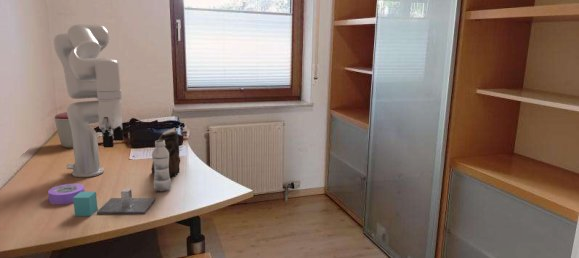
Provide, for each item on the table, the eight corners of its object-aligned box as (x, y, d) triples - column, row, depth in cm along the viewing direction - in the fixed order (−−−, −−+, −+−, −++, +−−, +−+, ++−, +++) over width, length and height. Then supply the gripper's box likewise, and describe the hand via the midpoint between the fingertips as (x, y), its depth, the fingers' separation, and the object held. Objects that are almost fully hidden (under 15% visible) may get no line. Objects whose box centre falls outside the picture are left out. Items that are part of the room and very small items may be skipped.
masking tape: (76, 190, 157) (75, 181, 156) (90, 197, 150) (89, 188, 149) (44, 199, 148) (42, 189, 147) (57, 207, 141) (55, 197, 140)
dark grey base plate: (97, 214, 136) (95, 196, 134) (111, 200, 147) (110, 183, 146) (144, 214, 136) (143, 196, 135) (155, 200, 148) (154, 184, 147)
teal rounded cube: (75, 216, 134) (73, 197, 132) (82, 209, 139) (80, 191, 138) (90, 216, 134) (89, 197, 133) (97, 209, 139) (95, 191, 138)
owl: (178, 168, 185) (176, 125, 180) (188, 176, 174) (186, 131, 170) (150, 172, 178) (148, 128, 173) (158, 181, 167) (156, 134, 163)
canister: (83, 150, 211) (79, 110, 206) (49, 149, 211) (44, 110, 206) (99, 141, 229) (96, 105, 224) (68, 141, 229) (64, 104, 224)
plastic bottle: (162, 194, 153) (159, 144, 149) (150, 190, 157) (147, 141, 152) (175, 189, 159) (172, 140, 154) (163, 186, 162) (160, 138, 158)
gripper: (107, 92, 146) (111, 138, 150) (87, 99, 129) (92, 150, 133) (128, 92, 147) (132, 138, 150) (111, 99, 130) (116, 150, 133)
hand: (113, 143), depth 142 cm, fingers open, 9 cm apart
